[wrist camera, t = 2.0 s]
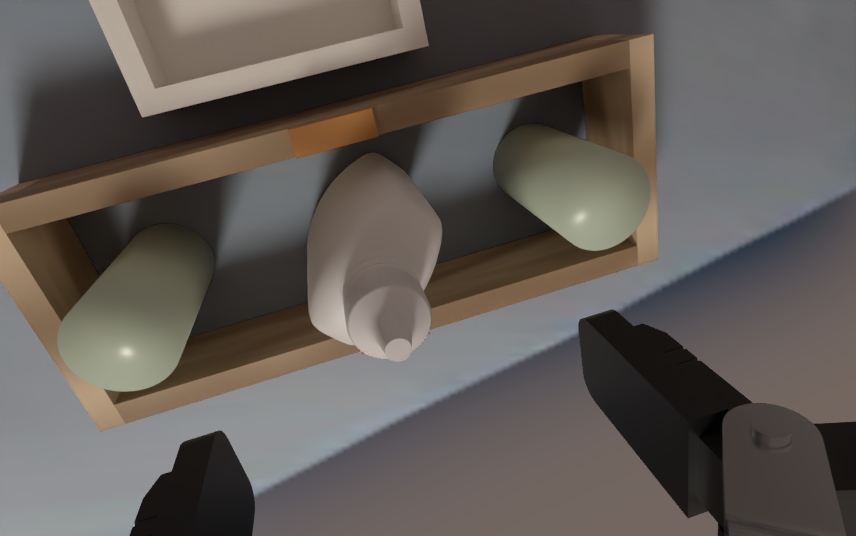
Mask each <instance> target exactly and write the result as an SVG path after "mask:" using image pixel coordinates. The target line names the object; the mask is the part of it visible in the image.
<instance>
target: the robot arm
mask: <svg viewBox="0 0 856 536" xmlns="http://www.w3.org/2000/svg"><path fill="white" fill-rule="evenodd" d="M578 327H579V338H580V347H581V357H582V366H583V374H584V379H585V383H586V386H587V388H588V390H589V393H590V395H591V396H592V398H593V399H594V401H595V402H596V404H597V405H598V406H599V407H600V409H601V410H602V411H603V412H604V414H605V415H606V416H607V417H608V419H609V420H610V421H611V422H612V424H613V425H614V426H615V427H616V429H617V430H618V431H619V432H620V434H621V435H622V436H623V437H624V439H625V440H626V441H627V442H628V444H629V445H630V446H631V447H632V449H633V450H634V451H635V452H636V454H637V455H638V456H639V457H640V459H641V460H642V461H643V463H645V465H646V466H647V468H648V469H649V470H650V471H651V472H652V474H653V475H654V476H655V478H656V479H657V480H658V481H659V482H660V484H661V485H662V486H663V488H664V489H665V490H666V491H667V493H668V494H669V495H670V496H671V498H672V499H673V500H674V501H675V503H676V504H677V505H678V506H679V508H680V509H681V510H682V511H683V512H684V514H685V515H686V516H687V518H690V517H693V516H695V515H698V514H701V513H704V512H707V511H709V513H710V514H711V515H712V516H713V517H714V518H715V520H716V521H717V522H718V536H856V422H844V423H843V422H842V423H824V424H813V423H812V422H811V421H809V420H808V419H807V418H805V417H804V416H802V415H801V414H799V413H797V412H795V411H793V410H790V409H787V408H784V407H781V406H777V405H772V404H766V403H752V402H751V401H750V400H748V399H747V398H746V397H745V396H744V395H742V394H741V393H740V392H739V391H737V390H736V389H735V388H734V387H732V386H731V385H730V384H729V383H727V382H726V381H725V380H724V379H723V378H721V377H720V376H719V375H718V374H716V373H715V372H713V370H711V369H710V368H709V367H708V366H706V365H705V364H704V363H703V362H701V361H698V360H697V357H695V356H694V355H693V354H691V353H690V352H689V351H688V350H687V349H683V346H682V345H680V344H679V343H678V342H677V341H676V340H674V339H673V338H672V337H671V336H669V335H668V334H667V333H665V332H663V331H660V330H658V329H655V328H653V327H650V326H648V325H645V324H640V325H637V326H632V325H631V324H630V323H629V322H628V321H627V320H626V319H625V318H623V317H622V316H621V315H620V314H619V313H618V312H616V311H615V310H608V311H605V312H602V313H599V314H596V315H592V316H589V317H586V318H583V319H580V321H579V326H578ZM254 514H255V501H254V495H253V490H252V487H251V484H250V481H249V479H248V477H247V475H246V473H245V471H244V469H243V467H242V465H241V463H240V462H239V460H238V458H237V456H236V454H235V452H234V450H233V448H232V446H231V444H230V442H229V440H228V438H227V437H226V435H225V434H224V433H223V432H222V431H217V432H213V433H210V434H207V435H204V436H201V437H197V438H194V439H191V440H188V441H185V442H183V443H182V444H181V445H180V448H179V451H178V454H177V457H176V460H175V463H174V466H173V469H172V472H169V473H165V474H162V475H161V476H160V477H159V478H158V480H157V481H156V482H155V484H154V485H153V486H152V488H151V489H150V490H149V491H148V493H147V494H146V495H145V497H144V498H143V500H142V503H141V506H140V509H139V511H138V514H137V517H136V519H135V522H134V523H135V527H133V528H132V530H131V533H130V536H252V531H253V523H254Z"/></svg>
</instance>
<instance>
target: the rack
mask: <svg viewBox="0 0 856 536" xmlns="http://www.w3.org/2000/svg"><path fill="white" fill-rule="evenodd" d="M580 81H582V88H583V101H584V113H585V126H586V138H587V141H589V142H592V143H594V144H597V145H600V146H603V147H606V148H608V149H611V150H614V151H617V152H619V153H622V154H625V155H628V156H630V157H632V158H634V159H635V160H637V161H638V162H639V163H640V164H641V165H642V166H643V168H644V169H645V171H646V173H647V175H648V178H649V181H650V188H651V196H650V203H649V206H648V210H647V212H646V215H645V217H644V218H643V220H642V222H641V223H640V225H639V226H638V228H637V229H636V230H635V231H634V232H633V233H632V234H631V235H630V236H629V237H628V238H627V239H626V240H624V241H623V242H621V243H620V244H618V245H616V246H614V247H611V248H608V249H604V250H598V251H590V250H584V249H581V248H579V247H577V246H575V245H573V244H572V243H571V242H569V241H568V240H567V239H565V238H564V237H563V236H562V235H560V234H559V233H558V232H556V231H555V230H551V231H547V232H544V233H541V234H537V235H534V236H531V237H527V238H524V239H520V240H517V241H514V242H510V243H507V244H503V245H500V246H497V247H493V248H490V249H487V250H483V251H480V252H476V253H473V254H470V255H466V256H463V257H460V258H456V259H453V260H449V261H446V262H443V263H439V264H436V265H435V268H434V270H433V273H432V275H431V278H430V280H429V282H428V284H427V286H426V288H425V290H424V293H425V295H426V297H427V299H428V302H429V304H430V307H431V311H432V322H431V324H432V325H431V326H430V327H431V329H434V328H437V327H440V326H444V325H447V324H450V323H453V322H456V321H460V320H463V319H466V318H469V317H473V316H476V315H479V314H482V313H486V312H489V311H492V310H495V309H499V308H502V307H505V306H508V305H512V304H515V303H518V302H521V301H524V300H528V299H531V298H534V297H537V296H541V295H544V294H547V293H550V292H554V291H557V290H560V289H563V288H567V287H570V286H573V285H576V284H580V283H583V282H586V281H589V280H592V279H596V278H599V277H602V276H605V275H609V274H612V273H615V272H618V271H622V270H625V269H628V268H631V267H635V266H638V265H641V264H644V263H648V262H651V261H654V260H657V259H658V224H657V175H656V126H655V77H654V34H609V35H596V36H592V37H588V38H585V39H581V40H577V41H573V42H569V43H565V44H561V45H557V46H553V47H550V48H546V49H542V50H538V51H534V52H530V53H526V54H522V55H518V56H515V57H511V58H507V59H503V60H499V61H495V62H491V63H487V64H483V65H480V66H476V67H472V68H468V69H464V70H460V71H456V72H452V73H448V74H445V75H441V76H437V77H433V78H429V79H425V80H421V81H417V82H413V83H410V84H406V85H402V86H398V87H394V88H390V89H386V90H382V91H378V92H375V93H371V94H367V95H363V96H359V97H355V98H351V99H347V100H343V101H340V102H336V103H332V104H328V105H324V106H320V107H316V108H312V109H308V110H305V111H301V112H297V113H293V114H289V115H285V116H281V117H277V118H273V119H270V120H266V121H262V122H258V123H254V124H250V125H246V126H242V127H238V128H235V129H231V130H227V131H223V132H219V133H215V134H211V135H207V136H203V137H200V138H196V139H192V140H188V141H184V142H180V143H176V144H172V145H168V146H165V147H161V148H157V149H153V150H149V151H145V152H141V153H137V154H134V155H130V156H126V157H122V158H118V159H114V160H110V161H106V162H102V163H99V164H95V165H91V166H87V167H83V168H79V169H75V170H71V171H67V172H64V173H60V174H56V175H52V176H48V177H44V178H40V179H36V180H32V181H29V182H25V183H21V184H17V185H15V186H13V187H11V188H9V189H7V190H5V191H3V192H1V193H0V281H1V282H2V284H3V285H4V287H5V288H6V290H7V291H8V293H9V294H10V296H11V297H12V299H13V300H14V302H15V303H16V305H17V306H18V308H19V309H20V311H21V312H22V314H23V315H24V317H25V318H26V320H27V321H28V323H29V324H30V326H31V327H32V329H33V330H34V332H35V333H36V335H37V336H38V338H39V339H40V341H41V342H42V344H43V345H44V347H45V348H46V350H47V351H48V353H49V354H50V356H51V357H52V359H53V360H54V362H55V363H56V365H57V366H58V368H59V369H60V371H61V372H62V374H63V375H64V377H65V378H66V380H67V381H68V383H69V384H70V386H71V387H72V389H73V390H74V392H75V393H76V395H77V397H78V398H79V400H80V401H81V403H82V404H83V406H84V407H85V409H86V410H87V412H88V413H89V415H90V416H91V418H92V419H93V421H94V422H95V424H96V425H97V427H98V428H99V430H100V431H104V430H107V429H110V428H113V427H117V426H120V425H123V424H126V423H130V422H133V421H136V420H139V419H142V418H146V417H149V416H152V415H155V414H159V413H162V412H165V411H168V410H172V409H175V408H178V407H181V406H185V405H188V404H191V403H194V402H198V401H201V400H204V399H207V398H210V397H214V396H217V395H220V394H223V393H227V392H230V391H233V390H236V389H240V388H243V387H246V386H249V385H253V384H256V383H259V382H262V381H265V380H269V379H272V378H275V377H278V376H282V375H285V374H288V373H291V372H295V371H298V370H301V369H304V368H308V367H311V366H314V365H317V364H321V363H324V362H327V361H330V360H333V359H337V358H340V357H343V356H346V355H350V354H353V353H356V352H359V351H360V349H357V347H356V346H354V345H348V344H346V343H343V342H340V341H338V340H336V339H334V338H332V337H330V336H328V335H326V334H324V333H322V332H321V331H319V330H318V329H317V328H316V327H315V326H314V325H313V324H312V322H311V319H310V315H309V310H308V302H307V303H304V304H301V305H297V306H294V307H291V308H287V309H284V310H280V311H277V312H274V313H270V314H267V315H263V316H260V317H257V318H253V319H250V320H247V321H243V322H240V323H236V324H233V325H230V326H226V327H223V328H220V329H216V330H213V331H209V332H206V333H203V334H199V335H196V336H193V337H189V338H188V340H187V342H186V345H185V347H184V350H183V353H182V355H181V358H180V360H179V362H178V365H177V366H176V368H175V369H174V371H173V372H172V373H171V374H170V375H169V376H168V377H167V378H166V379H165V380H163V381H162V382H160V383H158V384H156V385H154V386H152V387H149V388H146V389H142V390H138V391H127V392H122V391H112V390H106V389H103V388H99V387H96V386H94V385H92V384H89V383H87V382H85V381H84V380H82V379H81V378H79V377H78V376H77V375H75V374H74V373H73V372H72V371H71V370H70V369H69V368H68V367H67V365H66V364H65V363H64V361H63V359H62V357H61V355H60V352H59V350H58V345H57V335H58V330H59V327H60V324H61V322H62V321H63V319H64V317H65V316H66V315H67V314H68V313H69V311H70V310H71V309H72V308H73V307H74V306H75V305H76V303H77V302H78V301H79V300H80V299H81V298H82V296H83V295H84V294H85V293H86V292H87V291H88V290H89V288H90V287H91V286H92V285H93V284H94V283H95V282H96V280H97V279H98V278H99V277H100V276H99V274H98V272H97V271H96V269H95V267H94V265H93V264H92V262H91V260H90V258H89V257H88V255H87V253H86V251H85V249H84V248H83V246H82V244H81V242H80V241H79V239H78V237H77V235H76V234H75V232H74V230H73V228H72V226H71V225H70V223H69V221H68V219H67V218H68V217H72V216H76V215H80V214H83V213H87V212H91V211H95V210H99V209H102V208H106V207H110V206H114V205H117V204H121V203H125V202H129V201H132V200H136V199H140V198H144V197H147V196H151V195H155V194H159V193H162V192H166V191H170V190H174V189H177V188H181V187H185V186H189V185H192V184H196V183H200V182H204V181H208V180H211V179H215V178H219V177H223V176H226V175H230V174H234V173H238V172H241V171H245V170H249V169H253V168H256V167H260V166H264V165H268V164H271V163H275V162H279V161H283V160H286V159H290V158H294V157H296V158H300V157H304V156H308V155H312V154H315V153H319V152H323V151H327V150H330V149H334V148H338V147H342V146H345V145H349V144H353V143H357V142H360V141H364V140H368V139H372V138H375V137H379V135H380V134H384V133H388V132H392V131H395V130H399V129H403V128H407V127H410V126H414V125H418V124H422V123H426V122H429V121H433V120H437V119H441V118H444V117H448V116H452V115H456V114H459V113H463V112H467V111H471V110H474V109H478V108H482V107H486V106H489V105H493V104H497V103H501V102H504V101H508V100H512V99H516V98H519V97H523V96H527V95H531V94H535V93H538V92H542V91H546V90H550V89H553V88H557V87H561V86H565V85H568V84H572V83H576V82H580ZM431 329H430V330H431ZM428 334H430V332H429V333H428ZM363 354H364V352H362V355H363Z"/></svg>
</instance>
